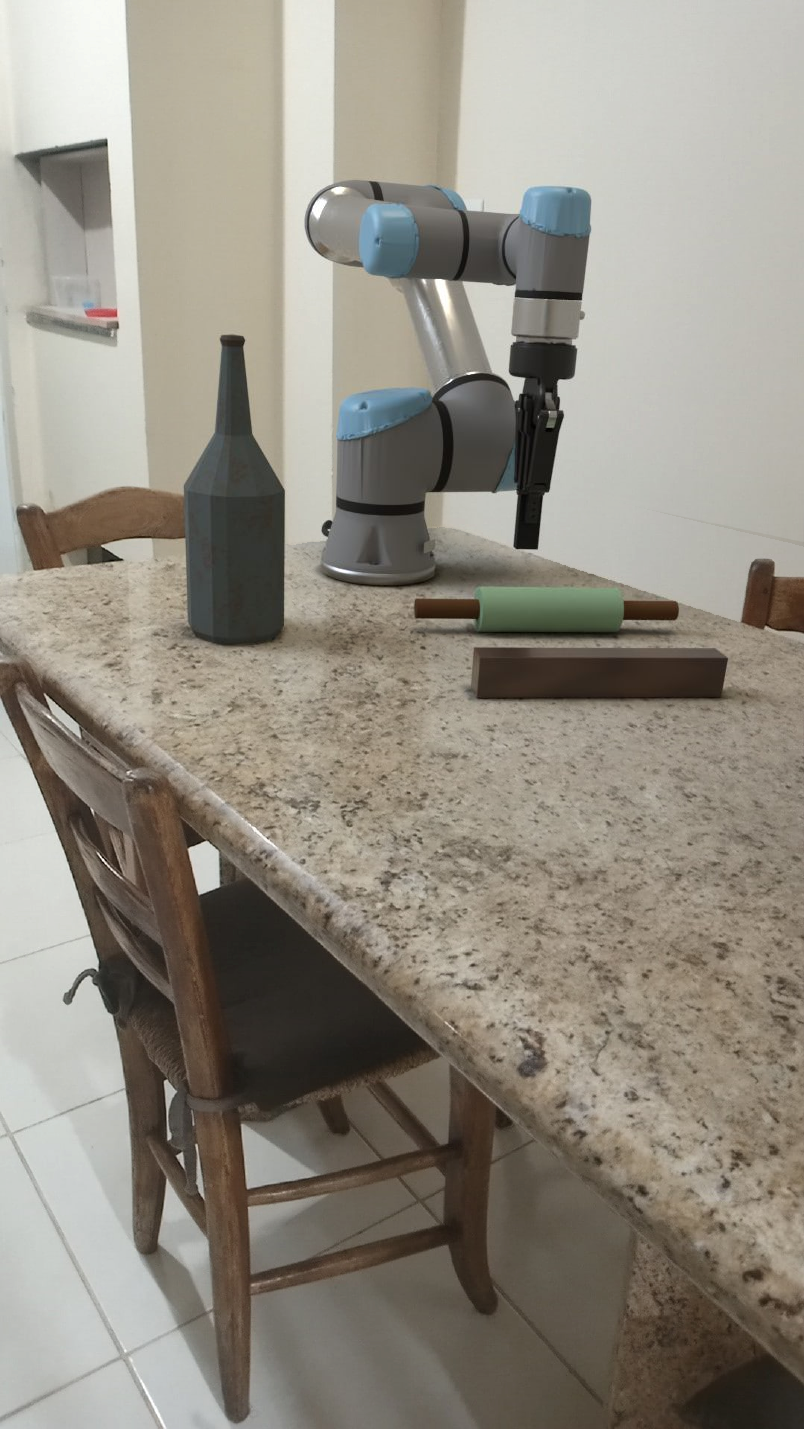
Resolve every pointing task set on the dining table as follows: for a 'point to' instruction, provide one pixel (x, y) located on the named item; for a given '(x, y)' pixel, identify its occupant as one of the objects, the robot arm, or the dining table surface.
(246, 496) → the bottle
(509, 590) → the rolling pin
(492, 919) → the dining table surface
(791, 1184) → the dining table surface
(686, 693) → the bar
